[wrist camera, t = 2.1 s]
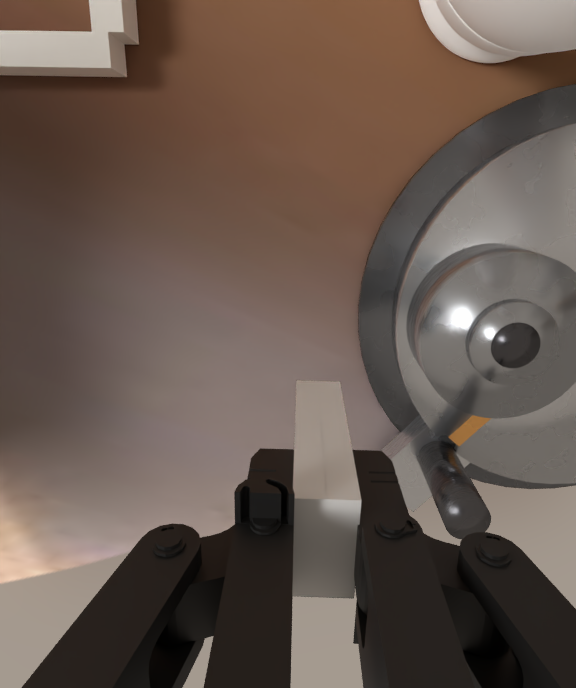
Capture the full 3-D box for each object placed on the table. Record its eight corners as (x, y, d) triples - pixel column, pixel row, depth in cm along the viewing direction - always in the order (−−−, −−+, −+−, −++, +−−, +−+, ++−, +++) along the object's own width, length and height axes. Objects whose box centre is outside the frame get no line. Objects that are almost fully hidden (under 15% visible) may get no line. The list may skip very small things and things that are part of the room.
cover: (399, 389, 30) (416, 424, 26) (414, 241, 27) (435, 253, 23) (546, 392, 30) (587, 428, 26) (576, 244, 27) (628, 257, 23)
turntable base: (346, 480, 36) (347, 484, 35) (372, 78, 27) (374, 77, 27) (708, 489, 35) (714, 493, 35) (847, 86, 27) (858, 84, 27)
